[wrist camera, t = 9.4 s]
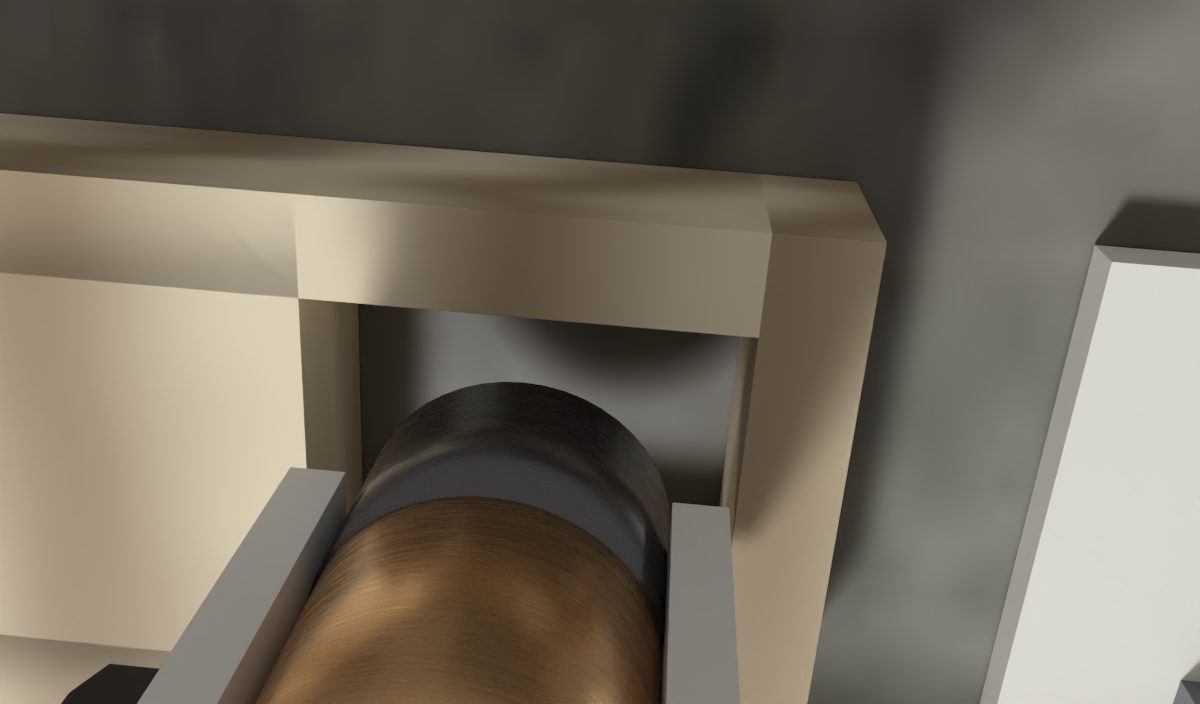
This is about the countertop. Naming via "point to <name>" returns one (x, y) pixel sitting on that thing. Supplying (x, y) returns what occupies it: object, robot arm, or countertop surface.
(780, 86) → the countertop surface
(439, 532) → the copper cell
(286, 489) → the robot arm
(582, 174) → the cell holder
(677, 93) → the countertop surface
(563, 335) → the countertop surface
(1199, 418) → the pad
